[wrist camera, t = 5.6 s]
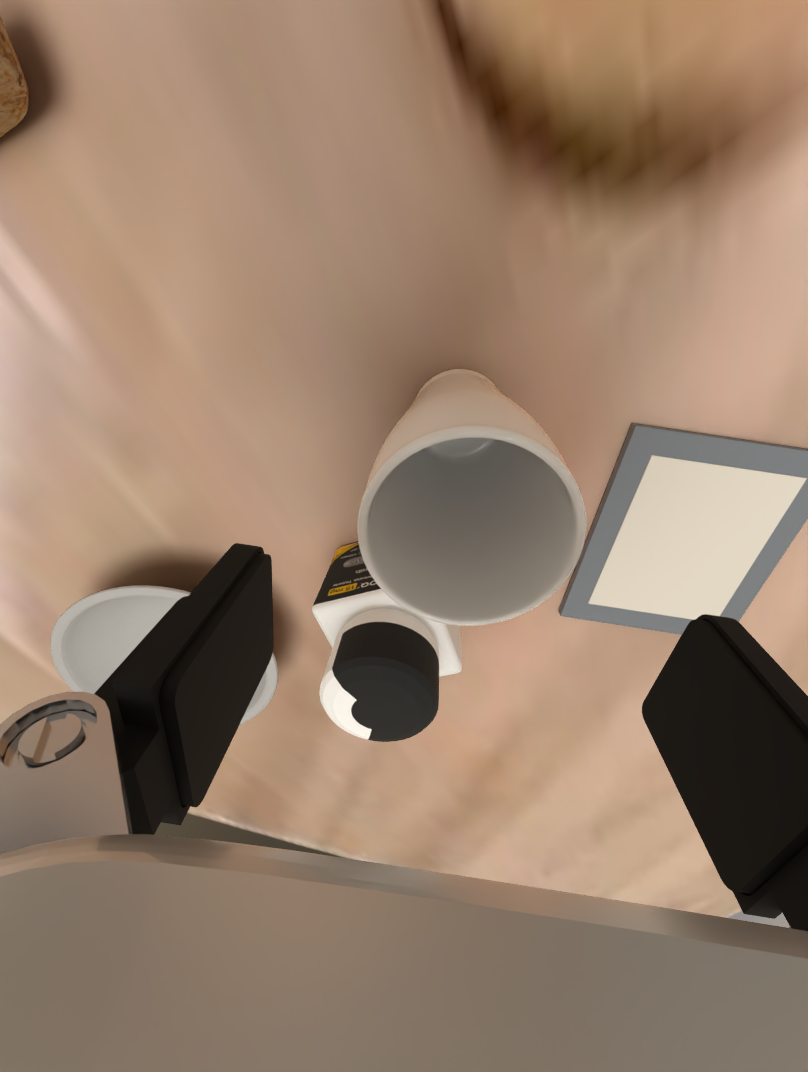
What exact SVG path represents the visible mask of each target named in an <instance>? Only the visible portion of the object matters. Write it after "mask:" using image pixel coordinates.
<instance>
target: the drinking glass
mask: <svg viewBox="0 0 808 1072" xmlns="http://www.w3.org/2000/svg"><path fill="white" fill-rule="evenodd" d="M357 534H358V543H359V548H360V552H361V555H362V558H363V561H364V563H365V565H366V568H367V569H368V571H369V573H370V575H371V576H372V578H373V579H374V581H375V582H376V583H377V585H378V586H379V587H380V588H381V589H382V591H383V592H384V593H386V594H387V595H388V596H389V597H390V598H391V599H392V600H393V601H395V602H396V603H397V604H399V605H400V606H402V607H403V608H405V609H407V610H408V611H410V612H412V613H414V614H416V615H418V616H421V617H423V618H426V619H429V620H432V621H436V622H439V623H444V624H450V625H459V626H479V625H488V624H493V623H498V622H502V621H506V620H509V619H512V618H515V617H518V616H520V615H522V614H524V613H526V612H528V611H530V610H532V609H534V608H536V607H537V606H539V605H540V604H542V603H543V602H544V601H546V600H547V599H548V598H549V597H551V596H552V595H553V594H554V593H555V592H556V591H557V590H558V589H559V588H560V587H561V586H562V585H563V584H564V582H565V581H566V580H567V579H568V577H569V576H570V574H571V573H572V571H573V569H574V568H575V566H576V564H577V562H578V560H579V557H580V555H581V552H582V549H583V546H584V541H585V536H586V511H585V505H584V501H583V498H582V494H581V492H580V489H579V487H578V484H577V482H576V481H575V479H574V477H573V475H572V473H571V472H570V470H569V468H568V466H567V464H566V462H565V461H564V459H563V457H562V455H561V453H560V452H559V450H558V449H557V447H556V446H555V444H554V443H553V441H552V440H551V439H550V437H549V436H548V434H547V433H546V432H545V431H544V429H543V428H542V427H541V426H540V425H539V424H538V423H537V422H536V421H535V419H534V418H533V417H532V416H531V415H529V414H528V413H527V412H526V411H525V410H524V409H523V408H521V407H520V406H519V405H518V404H516V403H515V402H514V401H512V400H511V399H510V398H508V397H507V396H506V395H504V394H503V393H502V392H500V391H499V390H498V389H497V388H496V386H495V385H494V384H493V383H492V382H491V381H490V380H489V379H488V378H487V377H485V376H484V375H482V374H480V373H478V372H475V371H472V370H468V369H452V370H447V371H444V372H442V373H439V374H437V375H436V376H434V377H433V378H431V379H430V380H429V381H428V382H427V383H426V384H425V385H424V386H423V387H422V388H421V390H420V391H419V393H418V394H417V396H416V398H415V401H414V402H413V404H412V405H411V406H410V407H409V408H408V410H407V411H406V412H405V413H404V415H403V416H402V417H401V418H400V420H399V421H398V422H397V423H396V425H395V426H394V427H393V429H392V430H391V432H390V433H389V435H388V436H387V438H386V440H385V441H384V443H383V445H382V447H381V449H380V451H379V453H378V455H377V457H376V459H375V462H374V464H373V467H372V469H371V472H370V475H369V478H368V481H367V484H366V487H365V491H364V495H363V498H362V501H361V505H360V509H359V514H358V521H357Z"/></svg>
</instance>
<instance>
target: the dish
mask: <svg viewBox="0 0 808 1072" xmlns="http://www.w3.org/2000/svg"><path fill="white" fill-rule="evenodd" d="M190 593H191V592H188V591H184V590H180V589H175V588H169V587H162V586H149V585H133V586H122V587H116V588H111V589H107V590H103V591H100V592H97V593H94V594H91V595H89V596H87V597H85V598H83V599H81V600H79V601H78V602H76V603H74V604H73V605H72V606H71V607H69V608H68V609H67V610H66V611H65V612H64V613H63V614H62V615H61V617H60V618H59V620H58V621H57V623H56V625H55V627H54V629H53V632H52V635H51V642H50V647H51V655H52V659H53V662H54V665H55V667H56V669H57V671H58V673H59V674H60V676H61V678H62V679H63V680H64V682H65V683H66V684H67V685H68V686H69V687H70V688H71V690H72V691H73V692H87V693H91V694H94V693H95V692H96V691H97V690H98V689H99V688H100V687H101V685H102V684H103V683H104V682H105V681H106V680H107V679H108V678H109V677H110V675H111V674H112V673H113V672H114V671H115V670H116V669H117V668H118V667H119V665H120V664H121V663H122V662H123V661H124V660H125V659H126V658H127V656H128V655H129V654H130V653H131V652H132V651H133V650H134V649H135V648H136V646H137V645H138V644H139V643H140V642H141V641H142V640H143V639H144V637H145V636H146V635H147V634H148V633H149V632H150V631H151V630H152V629H153V627H154V626H155V625H156V624H157V623H158V622H159V621H160V620H161V618H162V617H163V616H164V615H165V614H166V613H167V612H168V611H169V610H170V608H171V607H172V606H173V605H174V604H175V603H176V602H177V601H178V600H179V599H180V598H182V597H185V596H189V595H190ZM277 682H278V666H277V662H276V658H275V655H274V653H272V657H271V660H270V662H269V664H268V666H267V669H266V671H265V673H264V675H263V677H262V679H261V681H260V683H259V685H258V687H257V689H256V691H255V693H254V695H253V697H252V700H251V702H250V704H249V706H248V708H247V710H246V712H245V714H244V716H243V718H242V720H241V722H240V724H242V723H244V722H246V721H248V720H250V719H251V718H253V717H254V716H256V715H257V714H258V713H259V712H261V711H262V710H263V709H264V708H265V707H266V705H267V704H268V703H269V701H270V700H271V698H272V697H273V695H274V693H275V690H276V687H277ZM240 724H239V725H240Z"/></svg>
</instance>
